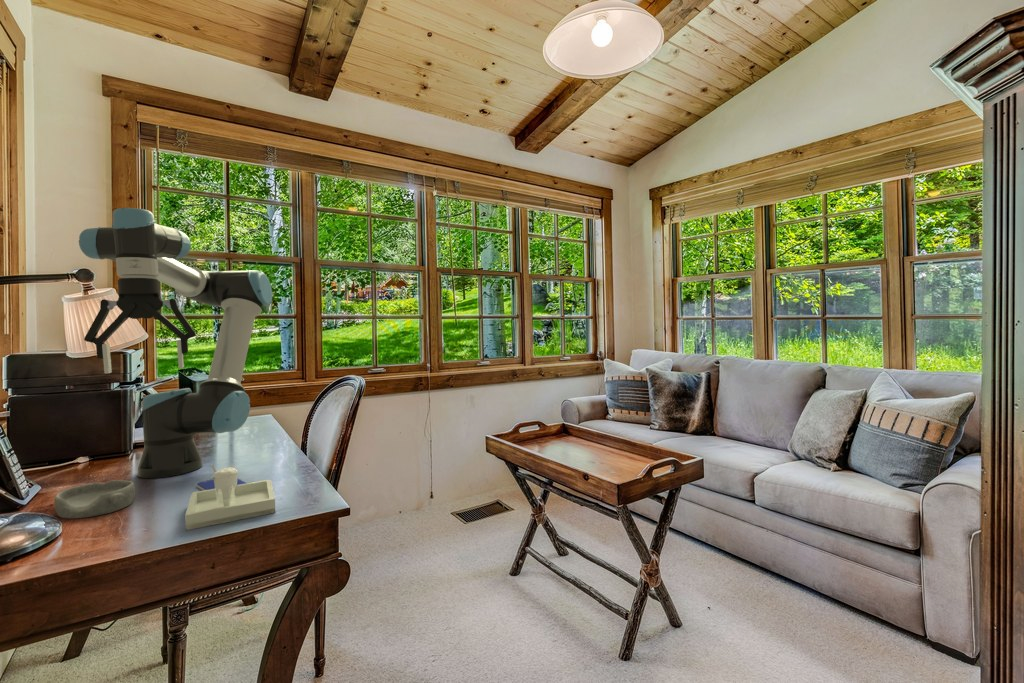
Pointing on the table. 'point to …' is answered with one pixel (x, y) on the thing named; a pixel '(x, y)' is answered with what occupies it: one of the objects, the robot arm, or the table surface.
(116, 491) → the dish
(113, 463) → the table surface
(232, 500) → the milkshake
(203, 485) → the hard drive
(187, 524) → the tray
